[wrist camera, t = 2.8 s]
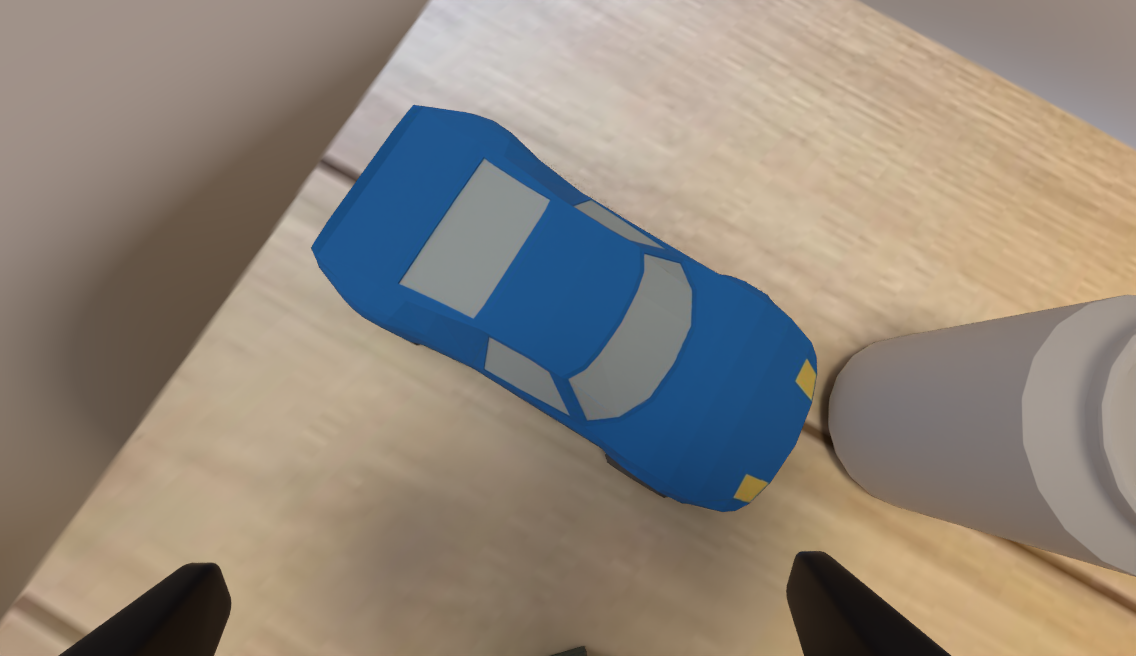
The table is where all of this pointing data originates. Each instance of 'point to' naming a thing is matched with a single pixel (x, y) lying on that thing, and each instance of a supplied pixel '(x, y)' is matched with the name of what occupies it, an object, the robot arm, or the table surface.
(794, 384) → the toy car
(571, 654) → the tray
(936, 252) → the table surface
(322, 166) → the table surface
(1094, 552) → the can
